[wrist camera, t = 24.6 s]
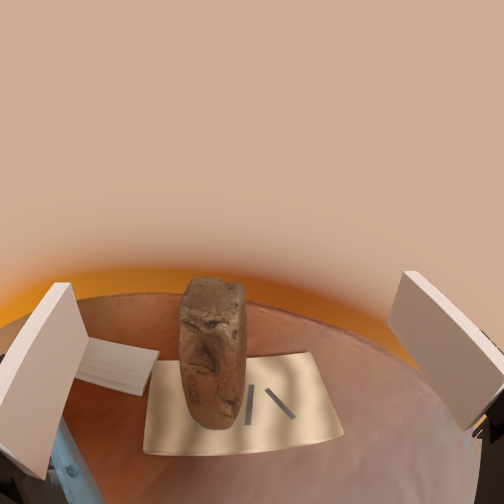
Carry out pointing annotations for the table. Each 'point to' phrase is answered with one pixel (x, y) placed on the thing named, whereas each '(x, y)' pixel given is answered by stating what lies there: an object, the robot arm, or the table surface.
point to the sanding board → (244, 411)
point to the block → (213, 350)
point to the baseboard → (116, 366)
